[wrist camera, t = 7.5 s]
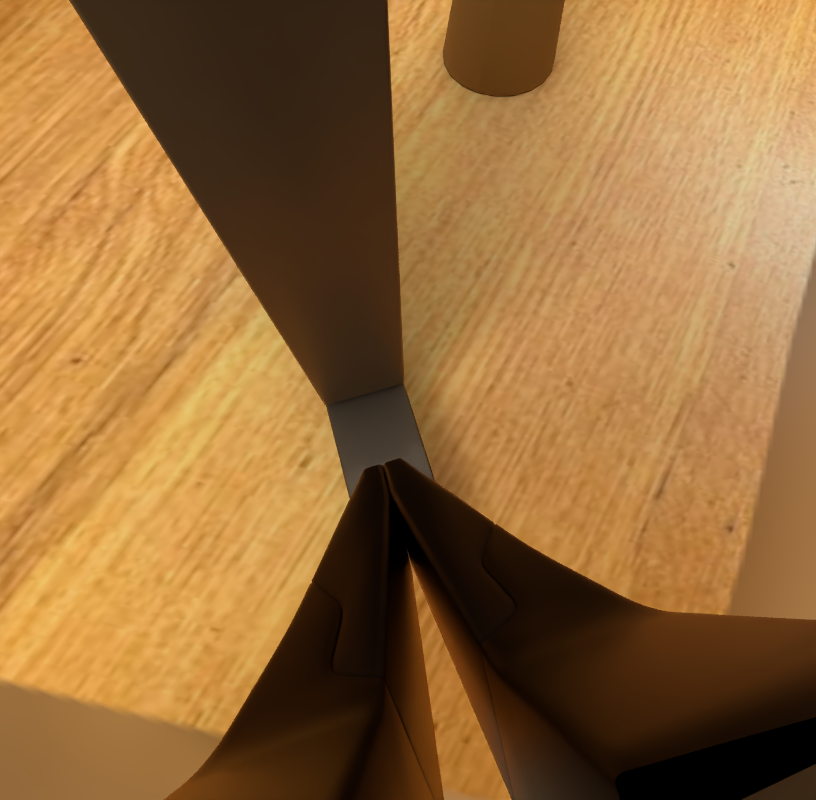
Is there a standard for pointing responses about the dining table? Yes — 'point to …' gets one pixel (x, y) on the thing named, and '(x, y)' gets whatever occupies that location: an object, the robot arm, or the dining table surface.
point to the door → (282, 159)
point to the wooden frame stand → (376, 433)
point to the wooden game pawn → (502, 44)
